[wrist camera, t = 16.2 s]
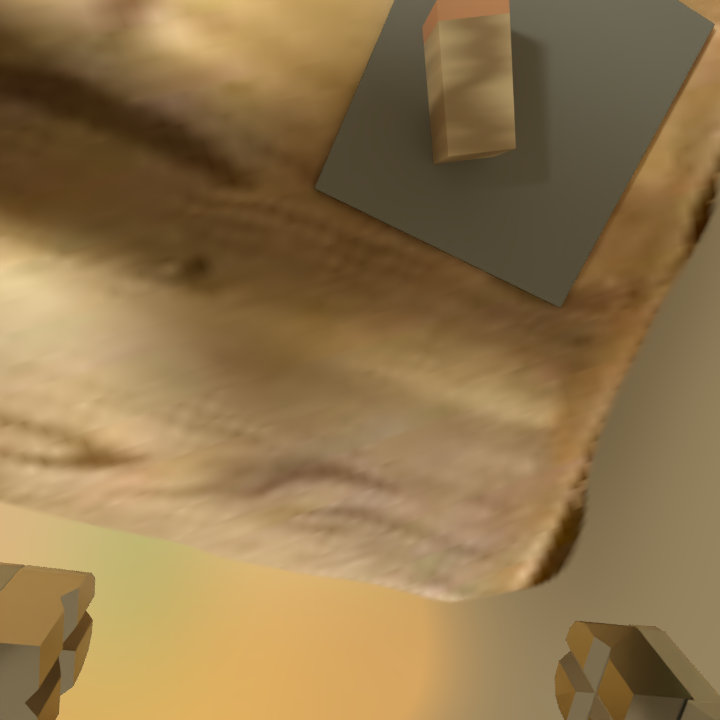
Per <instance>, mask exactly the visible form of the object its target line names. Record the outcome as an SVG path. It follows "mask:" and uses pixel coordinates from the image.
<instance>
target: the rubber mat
mask: <svg viewBox="0 0 720 720" xmlns="http://www.w3.org/2000/svg"><path fill="white" fill-rule="evenodd" d="M436 1H437V0H395V1H394V3H393V5H392V8H391V10H390V13H389V15H388V17H387V20H386V22H385V24H384V27H383V29H382V31H381V34H380V36H379V38H378V41H377V43H376V45H375V48H374V50H373V52H372V55H371V57H370V59H369V62H368V64H367V67H366V69H365V71H364V74H363V76H362V78H361V81H360V83H359V85H358V88H357V90H356V92H355V95H354V97H353V99H352V102H351V104H350V106H349V109H348V111H347V113H346V116H345V118H344V120H343V123H342V125H341V128H340V130H339V132H338V135H337V137H336V139H335V142H334V144H333V146H332V149H331V151H330V153H329V156H328V158H327V160H326V163H325V165H324V167H323V170H322V172H321V174H320V177H319V179H318V181H317V184H316V186H315V189H317V190H319V191H321V192H323V193H325V194H327V195H329V196H331V197H333V198H335V199H337V200H339V201H341V202H343V203H345V204H347V205H349V206H351V207H354V208H356V209H358V210H360V211H362V212H364V213H366V214H368V215H370V216H372V217H374V218H376V219H378V220H380V221H382V222H384V223H386V224H388V225H390V226H393V227H395V228H397V229H399V230H401V231H403V232H405V233H407V234H409V235H411V236H413V237H415V238H417V239H419V240H421V241H423V242H425V243H427V244H430V245H432V246H434V247H436V248H438V249H440V250H442V251H444V252H446V253H448V254H450V255H452V256H454V257H456V258H458V259H460V260H462V261H464V262H466V263H469V264H471V265H473V266H475V267H477V268H479V269H481V270H483V271H485V272H487V273H489V274H491V275H493V276H495V277H497V278H499V279H501V280H503V281H505V282H508V283H510V284H512V285H514V286H516V287H518V288H520V289H522V290H524V291H526V292H528V293H530V294H532V295H534V296H536V297H538V298H540V299H542V300H544V301H547V302H549V303H551V304H553V305H555V306H557V307H560V308H561V306H562V304H563V302H564V300H565V298H566V297H567V295H568V293H569V291H570V289H571V287H572V286H573V284H574V282H575V280H576V278H577V276H578V275H579V273H580V271H581V269H582V267H583V265H584V264H585V262H586V260H587V258H588V256H589V254H590V252H591V251H592V249H593V247H594V245H595V243H596V241H597V240H598V238H599V236H600V234H601V232H602V230H603V229H604V227H605V225H606V223H607V221H608V219H609V218H610V216H611V214H612V212H613V210H614V208H615V206H616V205H617V203H618V201H619V199H620V197H621V195H622V194H623V192H624V190H625V188H626V186H627V184H628V183H629V181H630V179H631V177H632V175H633V173H634V172H635V170H636V168H637V166H638V164H639V162H640V161H641V159H642V157H643V155H644V153H645V151H646V149H647V148H648V146H649V144H650V142H651V140H652V138H653V137H654V135H655V133H656V131H657V129H658V127H659V126H660V124H661V122H662V120H663V118H664V116H665V115H666V113H667V111H668V109H669V107H670V105H671V104H672V102H673V100H674V98H675V96H676V94H677V92H678V91H679V89H680V87H681V85H682V83H683V81H684V80H685V78H686V76H687V74H688V72H689V70H690V69H691V67H692V65H693V63H694V61H695V59H696V58H697V56H698V54H699V52H700V50H701V48H702V46H703V45H704V43H705V41H706V39H707V37H708V35H709V34H710V32H711V30H712V28H713V26H714V23H712V22H711V21H709V20H708V19H706V18H704V17H703V16H701V15H700V14H698V13H697V12H695V11H693V10H692V9H690V8H689V7H687V6H686V5H684V4H682V3H681V2H679V1H678V0H509V7H510V30H511V52H512V74H513V97H514V119H515V141H516V148H515V149H513V150H510V151H508V152H505V153H502V154H500V155H497V156H494V157H488V158H480V159H472V160H464V161H456V162H447V163H439V164H434V163H433V151H432V138H431V126H430V114H429V102H428V90H427V78H426V66H425V53H424V41H423V29H422V27H423V25H424V23H425V21H426V19H427V17H428V15H429V14H430V12H431V10H432V8H433V6H434V4H435V2H436Z"/></svg>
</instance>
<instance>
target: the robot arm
mask: <svg viewBox="0 0 720 720" xmlns="http://www.w3.org/2000/svg"><path fill="white" fill-rule="evenodd" d="M94 590H95V577H94V575H93V574H92V573H89V572H80V571H72V570H63V569H56V568H47V567H39V566H31V565H27V566H25V565H19V564H10V563H1V562H0V720H55V719H56V718H57V716H58V714H59V702H60V695H62V694H63V693H65V692H66V691H67V690H69V689H70V688H72V687H73V686H74V684H75V682H76V679H77V678H78V676H79V673H80V671H81V669H82V667H83V664H84V661H85V658H86V655H87V652H88V649H89V644H90V639H91V634H92V623H93V620H92V618H91V617H90V615H89V614H88V613H87V612H86V609H87V608H88V606H89V604H90V603H91V601H92V599H93V597H94V593H95V591H94ZM566 642H567V644H568V646H569V649H570V652H569V653H568V654H566V655H565V656H564V657H563V658H562V659H561V660H559V663H558V666H557V670H556V674H555V696H556V699H557V703H558V707H559V709H560V712H561V714H562V716H563V718H564V720H720V695H719V694H718V693H717V692H716V691H715V689H714V688H713V687H712V686H711V685H710V684H709V682H708V681H707V680H706V679H705V678H704V677H703V676H702V674H701V673H700V672H699V671H698V670H697V669H696V668H695V666H694V665H693V664H692V663H691V662H690V660H689V659H688V658H687V657H686V656H685V655H684V653H683V652H682V651H681V650H680V649H679V648H678V647H677V646H676V644H675V643H674V642H673V641H672V640H671V638H670V637H669V636H668V635H667V634H666V633H665V632H664V631H662V630H661V629H659V628H657V627H655V626H641V625H628V626H627V625H616V624H605V623H594V622H583V621H575V622H574V623H573V624H572V625H571V627H570V628H569V631H568V634H567V637H566Z"/></svg>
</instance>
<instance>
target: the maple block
mask: <svg viewBox="0 0 720 720" xmlns="http://www.w3.org/2000/svg"><path fill="white" fill-rule="evenodd" d="M422 29H423V41H424V53H425V66H426V78H427V90H428V102H429V114H430V126H431V138H432V151H433V163H434V164H439V163H447V162H456V161H464V160H472V159H480V158H488V157H494V156H497V155H500V154H502V153H505V152H508V151H510V150H513V149H515V148H516V141H515V119H514V97H513V74H512V52H511V30H510V7H509V0H437V1H436V2H435V4H434V6H433V8H432V10H431V12H430V14H429V15H428V17H427V19H426V21H425V23H424V25H423V27H422Z"/></svg>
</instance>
